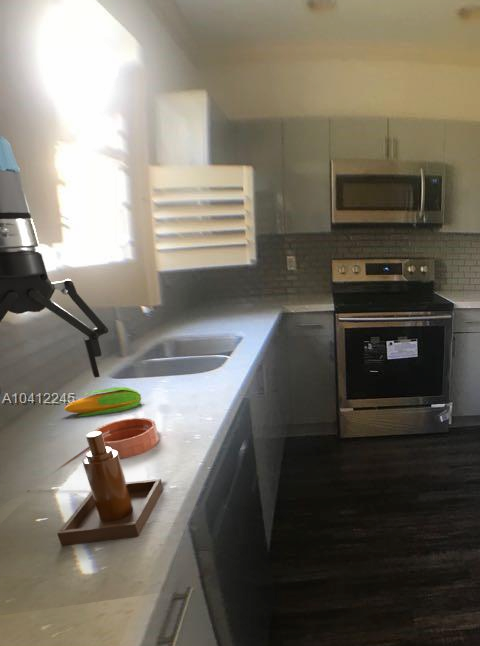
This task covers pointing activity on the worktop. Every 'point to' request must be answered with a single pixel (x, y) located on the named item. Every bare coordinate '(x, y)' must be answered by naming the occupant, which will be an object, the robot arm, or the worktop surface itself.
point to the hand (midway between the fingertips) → (49, 383)
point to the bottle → (106, 479)
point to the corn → (105, 402)
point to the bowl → (130, 436)
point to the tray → (93, 529)
